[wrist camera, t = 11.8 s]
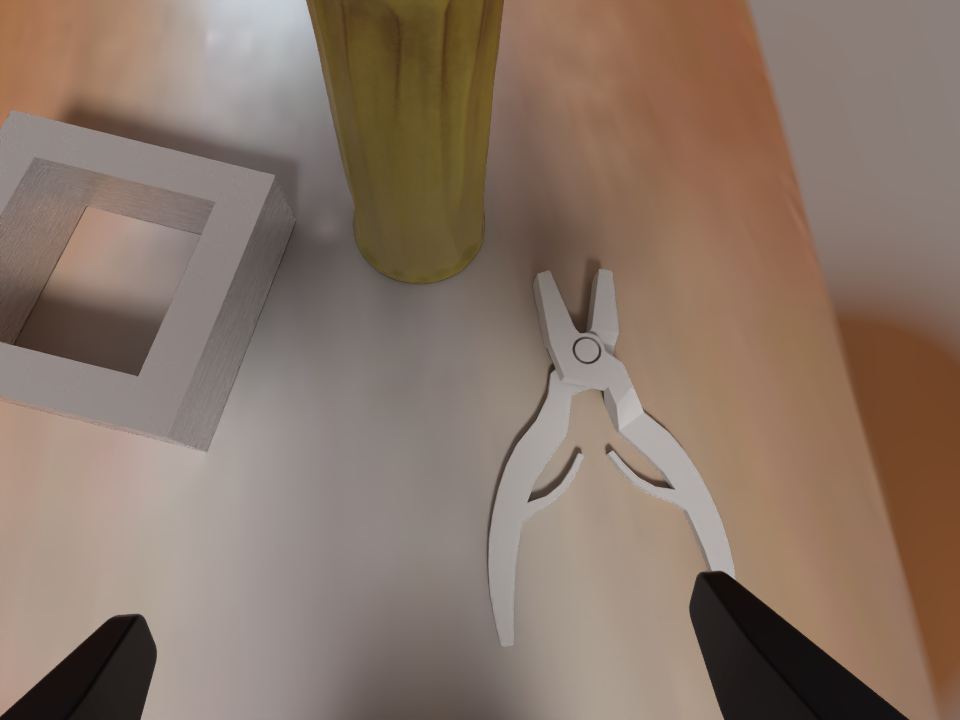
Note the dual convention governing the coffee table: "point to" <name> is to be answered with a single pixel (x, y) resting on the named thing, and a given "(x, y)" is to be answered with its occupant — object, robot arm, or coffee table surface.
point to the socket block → (198, 299)
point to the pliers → (577, 370)
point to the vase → (412, 125)
